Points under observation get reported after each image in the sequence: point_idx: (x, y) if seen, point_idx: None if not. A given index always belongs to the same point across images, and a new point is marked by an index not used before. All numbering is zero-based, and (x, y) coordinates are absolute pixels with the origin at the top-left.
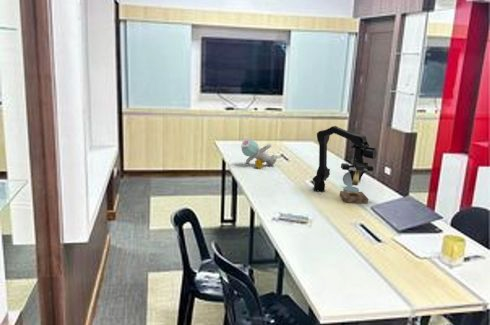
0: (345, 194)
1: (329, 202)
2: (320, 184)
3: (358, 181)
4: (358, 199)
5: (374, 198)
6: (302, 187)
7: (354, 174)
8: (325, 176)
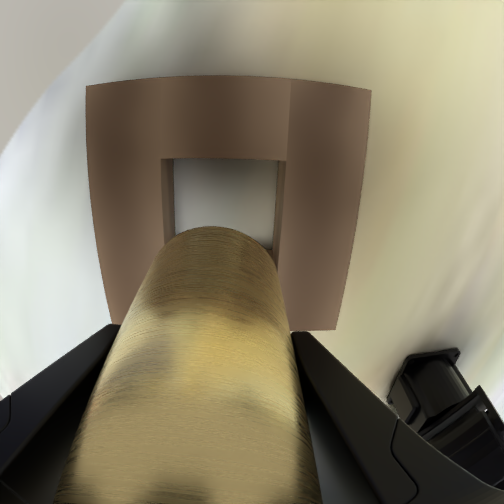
0: (326, 220)
1: (474, 113)
2: (451, 390)
3: (139, 291)
4: (204, 76)
5: (33, 253)
6: (471, 388)
7: (299, 478)
8: (468, 440)
